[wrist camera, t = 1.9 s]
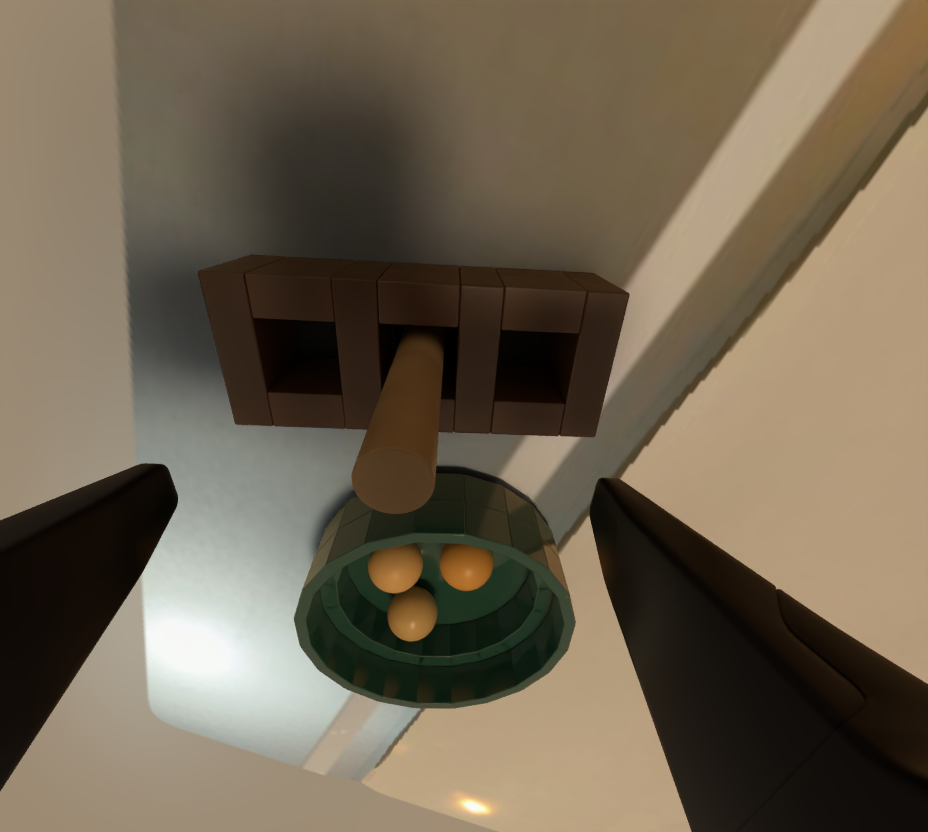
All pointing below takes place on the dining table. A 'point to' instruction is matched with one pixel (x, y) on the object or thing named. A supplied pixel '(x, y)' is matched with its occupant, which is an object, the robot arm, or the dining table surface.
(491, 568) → the bead
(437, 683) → the bowl
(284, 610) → the dining table surface
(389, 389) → the stick
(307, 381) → the rack
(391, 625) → the bead
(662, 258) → the dining table surface
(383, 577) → the bead
